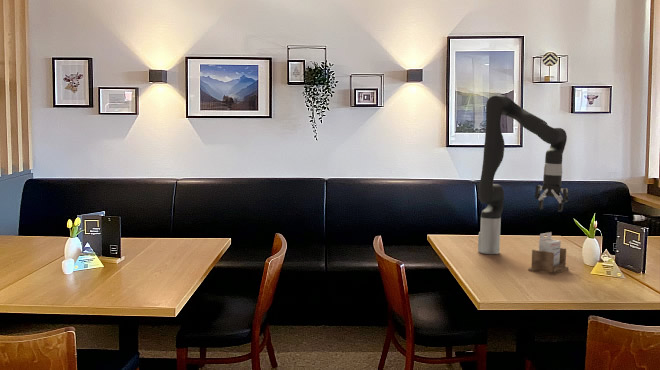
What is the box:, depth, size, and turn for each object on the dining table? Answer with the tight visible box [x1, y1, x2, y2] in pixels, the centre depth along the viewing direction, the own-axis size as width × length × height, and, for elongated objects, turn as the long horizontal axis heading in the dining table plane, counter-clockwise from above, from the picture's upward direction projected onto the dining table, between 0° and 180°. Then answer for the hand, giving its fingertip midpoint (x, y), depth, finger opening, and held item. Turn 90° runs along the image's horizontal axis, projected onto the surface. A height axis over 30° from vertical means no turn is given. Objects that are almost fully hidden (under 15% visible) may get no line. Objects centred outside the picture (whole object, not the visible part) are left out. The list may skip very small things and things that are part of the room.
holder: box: [527, 247, 569, 276], centre depth 257 cm, size 11×15×9 cm
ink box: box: [538, 231, 562, 266], centre depth 256 cm, size 8×5×15 cm, turn 125°
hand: (550, 210), depth 264 cm, fingers open, 8 cm apart
